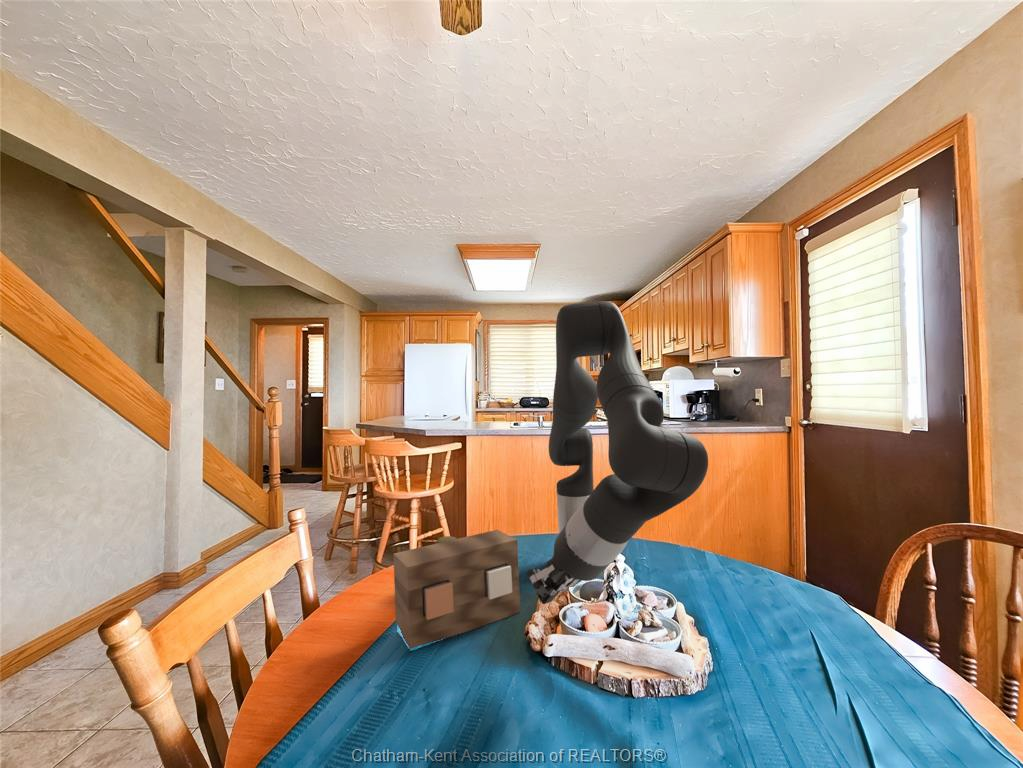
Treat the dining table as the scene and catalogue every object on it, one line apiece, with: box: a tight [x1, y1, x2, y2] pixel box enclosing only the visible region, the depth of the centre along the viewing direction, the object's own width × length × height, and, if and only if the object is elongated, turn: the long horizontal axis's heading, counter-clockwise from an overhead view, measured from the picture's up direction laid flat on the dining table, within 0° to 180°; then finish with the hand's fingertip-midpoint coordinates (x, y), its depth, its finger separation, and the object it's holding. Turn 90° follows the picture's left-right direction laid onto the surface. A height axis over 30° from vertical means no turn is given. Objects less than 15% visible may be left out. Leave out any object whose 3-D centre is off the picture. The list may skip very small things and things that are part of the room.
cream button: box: [484, 564, 512, 599], centre depth 82 cm, size 5×9×5 cm, turn 32°
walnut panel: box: [393, 529, 521, 649], centre depth 80 cm, size 22×8×14 cm, turn 122°
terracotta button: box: [422, 581, 454, 620], centre depth 76 cm, size 5×9×5 cm, turn 32°
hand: (543, 597), depth 67 cm, fingers closed
